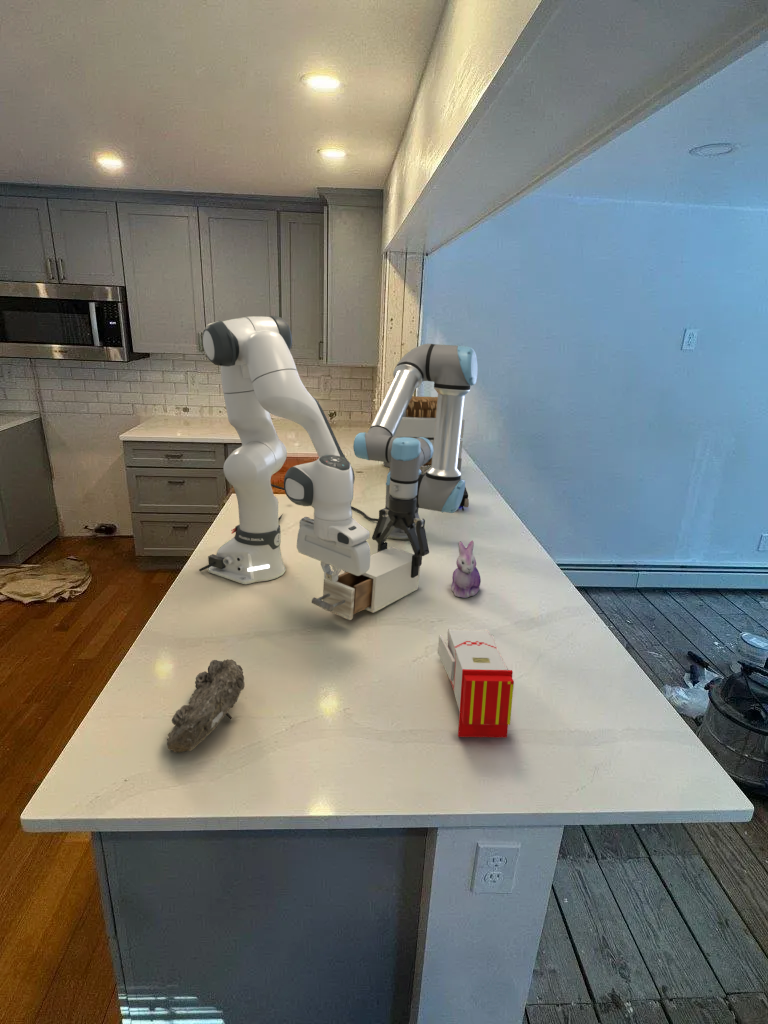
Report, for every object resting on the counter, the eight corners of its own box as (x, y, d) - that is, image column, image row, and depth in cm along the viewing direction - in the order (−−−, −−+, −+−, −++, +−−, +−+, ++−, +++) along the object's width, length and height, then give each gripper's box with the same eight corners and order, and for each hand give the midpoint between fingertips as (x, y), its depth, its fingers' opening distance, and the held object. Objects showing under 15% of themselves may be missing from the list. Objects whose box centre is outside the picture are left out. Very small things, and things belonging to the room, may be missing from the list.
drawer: (333, 628, 134) (335, 597, 131) (305, 615, 139) (307, 585, 136) (396, 596, 153) (398, 568, 151) (369, 585, 158) (371, 558, 156)
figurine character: (468, 516, 224) (463, 500, 237) (471, 498, 221) (465, 483, 234) (452, 515, 224) (447, 499, 237) (453, 498, 220) (449, 482, 234)
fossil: (192, 660, 117) (244, 628, 112) (224, 691, 120) (276, 661, 115) (142, 746, 98) (202, 712, 93) (182, 779, 101) (242, 748, 96)
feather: (290, 508, 223) (292, 504, 223) (272, 532, 197) (275, 527, 196) (286, 505, 223) (289, 501, 223) (268, 529, 197) (271, 525, 196)
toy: (488, 613, 130) (523, 677, 101) (484, 667, 133) (517, 744, 104) (435, 612, 130) (455, 676, 101) (432, 666, 133) (451, 743, 103)
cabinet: (373, 613, 145) (376, 577, 142) (342, 600, 151) (344, 565, 148) (417, 589, 161) (421, 556, 158) (388, 578, 167) (391, 546, 164)
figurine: (461, 602, 155) (467, 551, 150) (441, 586, 163) (445, 537, 158) (489, 595, 159) (495, 546, 154) (468, 580, 167) (473, 533, 162)
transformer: (382, 463, 289) (386, 382, 275) (445, 464, 293) (451, 384, 279) (390, 482, 257) (394, 392, 243) (460, 483, 261) (468, 394, 247)
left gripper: (290, 518, 134) (290, 570, 139) (358, 542, 123) (355, 598, 128) (309, 511, 139) (308, 562, 144) (375, 534, 128) (372, 588, 133)
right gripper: (361, 489, 156) (358, 562, 163) (431, 508, 143) (425, 587, 151) (377, 483, 162) (374, 555, 169) (446, 502, 149) (439, 578, 157)
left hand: (331, 579), depth 136 cm, fingers closed
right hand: (398, 570), depth 160 cm, fingers closed on cabinet, 10 cm apart
